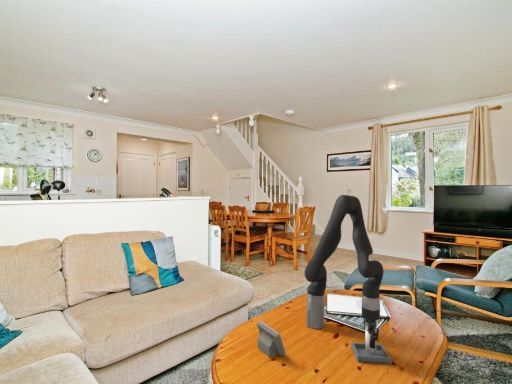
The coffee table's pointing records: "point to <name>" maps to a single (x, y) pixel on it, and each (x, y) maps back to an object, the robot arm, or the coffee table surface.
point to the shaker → (367, 342)
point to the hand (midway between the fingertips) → (370, 344)
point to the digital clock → (269, 340)
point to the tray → (371, 354)
